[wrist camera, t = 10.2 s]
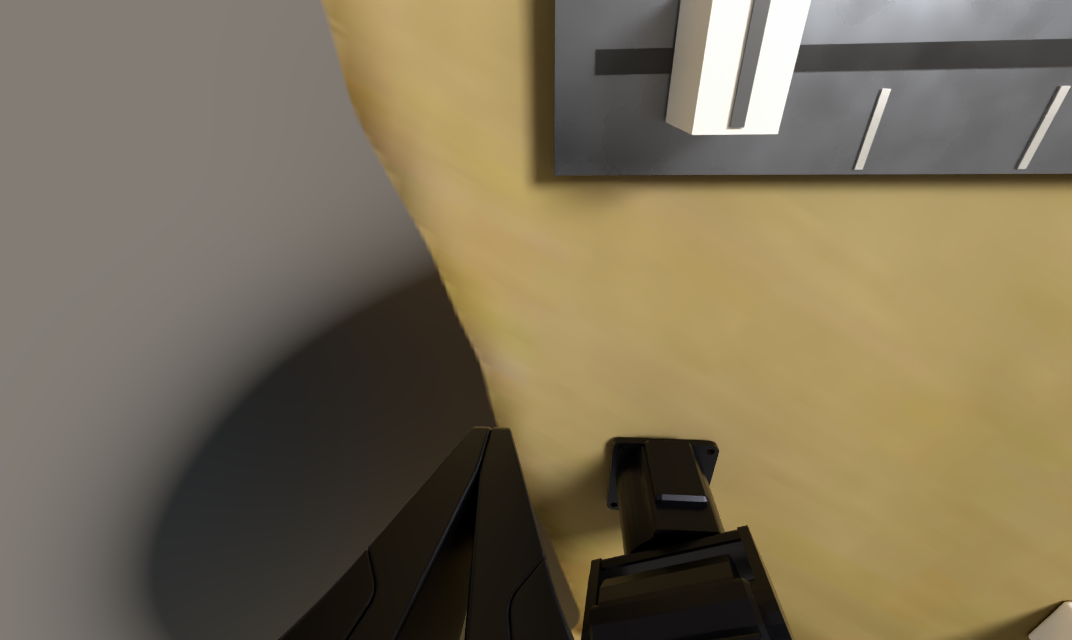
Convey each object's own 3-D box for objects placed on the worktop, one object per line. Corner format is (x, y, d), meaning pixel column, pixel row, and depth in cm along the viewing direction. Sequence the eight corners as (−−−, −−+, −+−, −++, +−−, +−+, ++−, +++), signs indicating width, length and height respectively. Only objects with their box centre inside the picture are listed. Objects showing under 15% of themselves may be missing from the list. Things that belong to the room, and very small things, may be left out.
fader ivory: (732, 121, 16) (778, 134, 12) (665, 121, 16) (692, 135, 13) (758, -12, 14) (823, -41, 10) (682, -10, 14) (719, -38, 11)
